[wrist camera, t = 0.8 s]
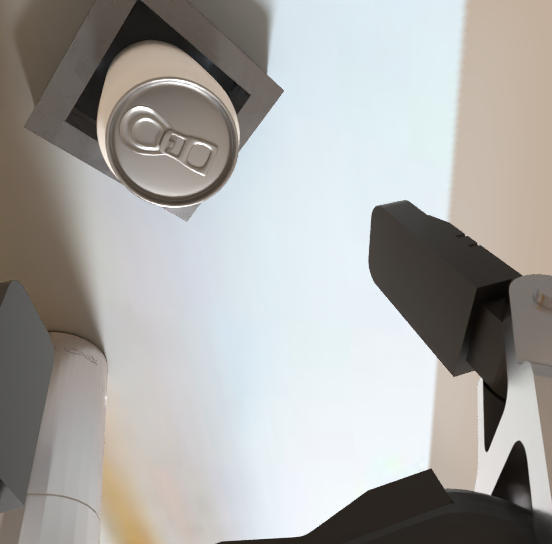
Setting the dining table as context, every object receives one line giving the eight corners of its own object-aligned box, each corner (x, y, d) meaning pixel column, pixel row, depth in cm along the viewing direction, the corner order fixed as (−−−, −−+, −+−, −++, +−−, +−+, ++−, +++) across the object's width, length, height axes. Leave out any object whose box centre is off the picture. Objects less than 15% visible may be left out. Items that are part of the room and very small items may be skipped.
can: (125, 16, 25) (125, 30, 15) (222, 71, 28) (273, 111, 18) (91, 118, 27) (72, 185, 17) (184, 158, 30) (211, 234, 21)
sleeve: (180, 198, 32) (186, 221, 28) (36, 110, 26) (24, 127, 23) (266, 80, 29) (284, 90, 26) (126, -49, 23) (126, -55, 20)
